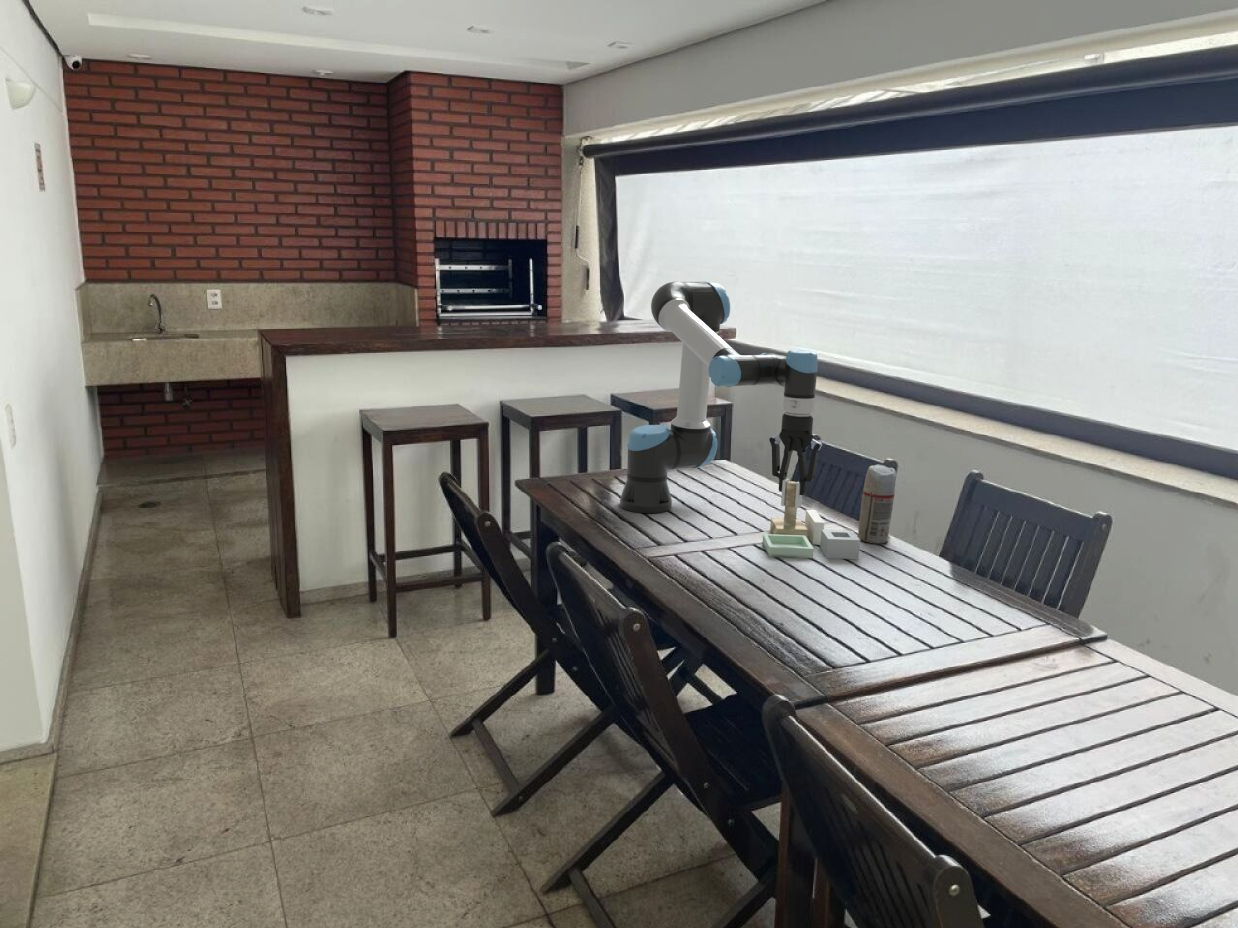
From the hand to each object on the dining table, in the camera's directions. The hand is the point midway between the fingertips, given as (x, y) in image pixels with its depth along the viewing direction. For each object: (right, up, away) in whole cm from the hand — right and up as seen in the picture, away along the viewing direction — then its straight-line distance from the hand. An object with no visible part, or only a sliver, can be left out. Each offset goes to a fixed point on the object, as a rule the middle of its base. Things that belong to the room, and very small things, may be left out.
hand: (791, 505), depth 243 cm
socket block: (+12, -12, +2) cm, 18 cm away
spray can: (+24, -10, +15) cm, 30 cm away
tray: (-1, -12, +3) cm, 12 cm away
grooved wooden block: (+2, -9, +14) cm, 17 cm away
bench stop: (+8, -9, +15) cm, 19 cm away
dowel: (0, -6, +1) cm, 6 cm away
